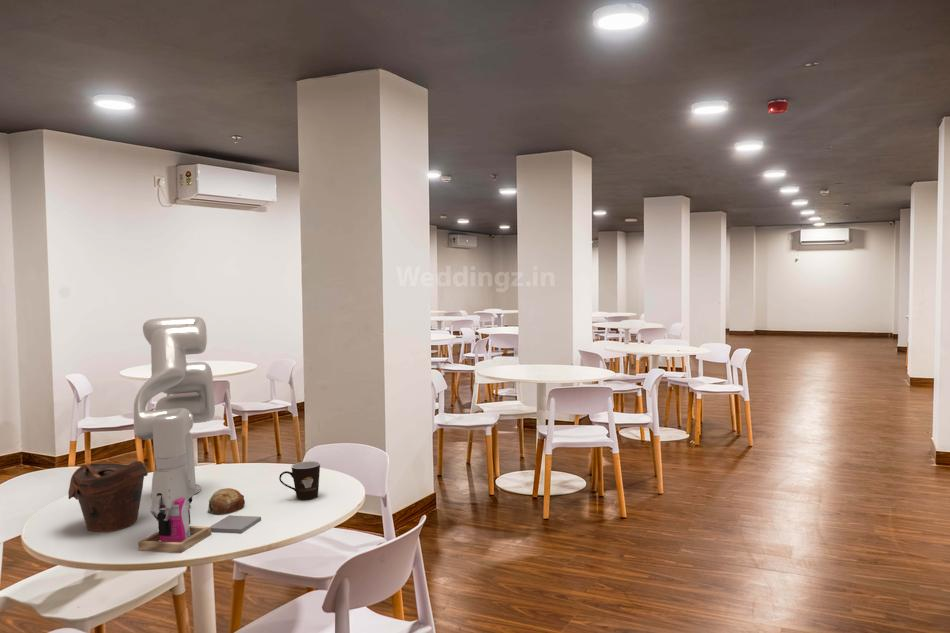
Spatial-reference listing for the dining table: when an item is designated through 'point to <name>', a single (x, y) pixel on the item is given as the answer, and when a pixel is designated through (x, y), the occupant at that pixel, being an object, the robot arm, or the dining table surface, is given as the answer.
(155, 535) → the oak pocket frame
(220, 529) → the stone pad
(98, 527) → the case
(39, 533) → the dining table surface
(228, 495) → the bread roll
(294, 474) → the coffee mug
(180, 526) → the supplement box
